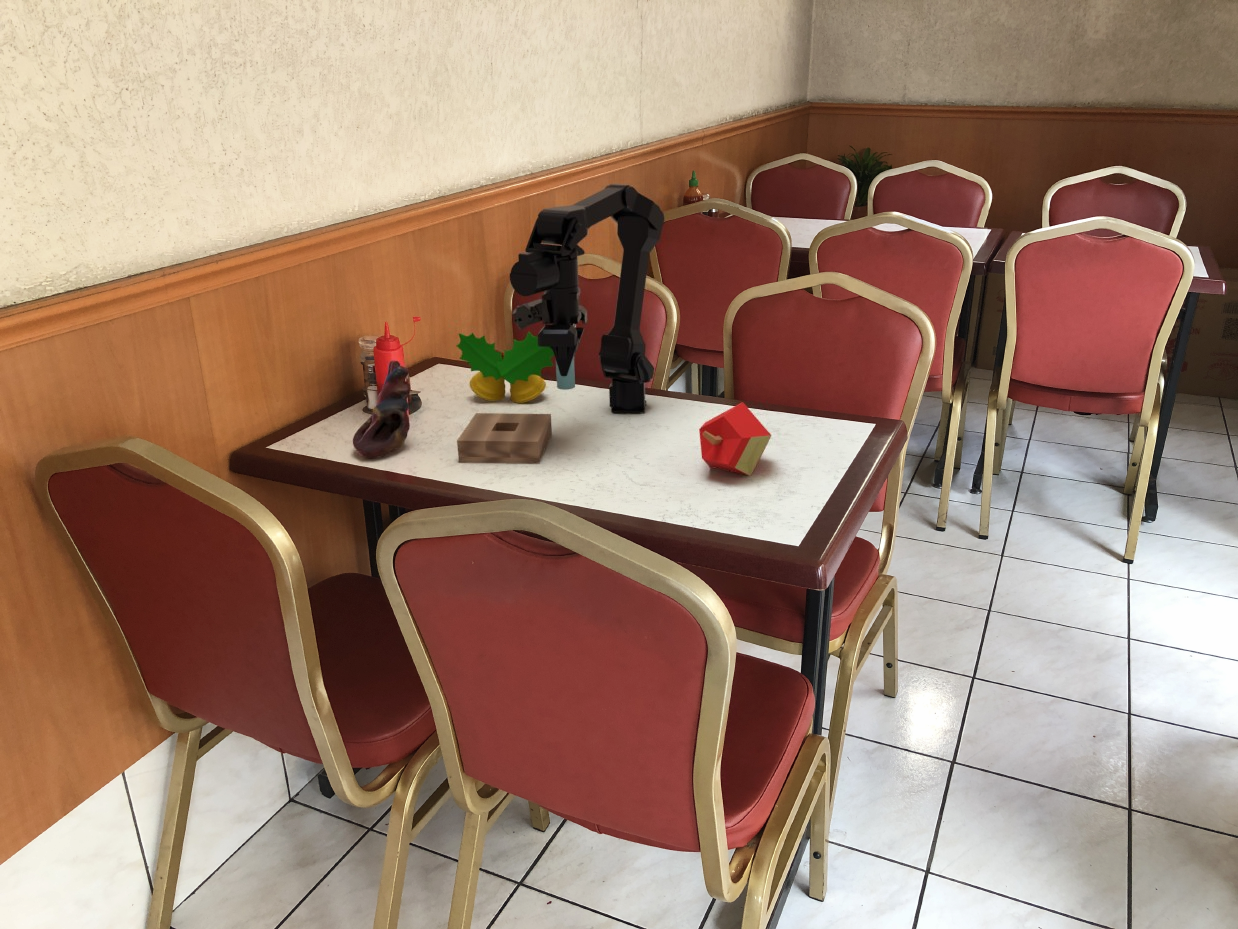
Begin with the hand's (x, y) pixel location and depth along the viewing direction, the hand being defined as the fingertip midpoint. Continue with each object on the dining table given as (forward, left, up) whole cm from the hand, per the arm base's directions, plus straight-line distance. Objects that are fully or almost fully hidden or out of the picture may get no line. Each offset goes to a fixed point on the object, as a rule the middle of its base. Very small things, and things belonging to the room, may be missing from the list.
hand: (565, 373), depth 171 cm
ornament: (+14, -23, -13) cm, 30 cm away
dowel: (0, 0, -3) cm, 2 cm away
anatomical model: (+32, +5, -13) cm, 35 cm away
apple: (-30, +12, -13) cm, 34 cm away
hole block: (+10, +4, -13) cm, 17 cm away
